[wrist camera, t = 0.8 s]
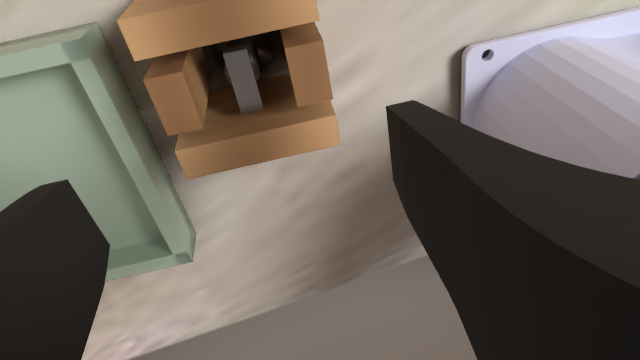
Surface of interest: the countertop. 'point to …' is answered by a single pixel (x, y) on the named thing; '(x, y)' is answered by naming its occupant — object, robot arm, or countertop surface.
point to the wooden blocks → (221, 105)
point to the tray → (88, 146)
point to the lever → (245, 66)
